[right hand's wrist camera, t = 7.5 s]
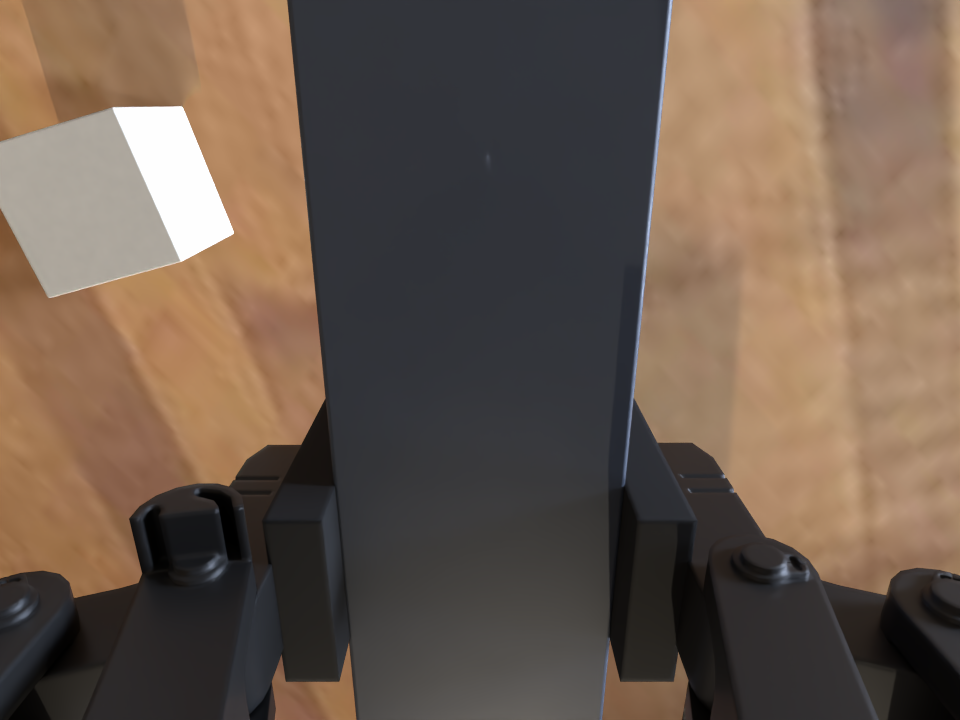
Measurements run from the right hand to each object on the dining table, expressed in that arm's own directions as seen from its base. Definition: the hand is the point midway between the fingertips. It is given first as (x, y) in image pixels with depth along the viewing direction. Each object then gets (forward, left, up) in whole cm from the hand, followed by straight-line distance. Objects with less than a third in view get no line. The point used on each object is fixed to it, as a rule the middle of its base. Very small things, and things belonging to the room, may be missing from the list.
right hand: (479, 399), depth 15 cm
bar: (0, -8, 0) cm, 8 cm away
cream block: (+13, -3, -13) cm, 19 cm away
